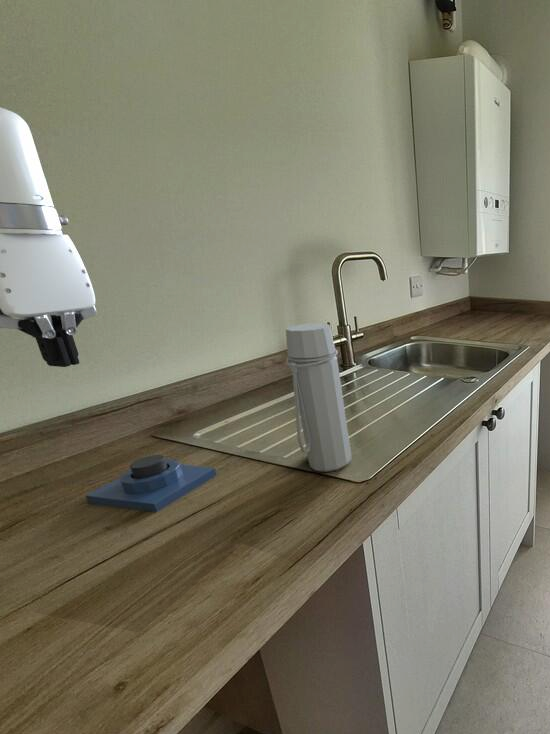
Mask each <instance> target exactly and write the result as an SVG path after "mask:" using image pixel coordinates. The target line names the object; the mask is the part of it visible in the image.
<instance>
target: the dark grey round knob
mask: <svg viewBox="0 0 550 734" xmlns="http://www.w3.org/2000/svg"><path fill="white" fill-rule="evenodd" d="M165 460H166V458H165V455H163V454H152V455H148V456H144V457H140V458H138V459H136V460H134V461H133V462H131V463H130V465H129V468H130V470H131V471H132V474H133V477H134V479H141V478H148V477H152V476H155V475H158V474H160V473H162V472H164V471H166V470H167V469H168V467H167V464H166V461H165Z"/></svg>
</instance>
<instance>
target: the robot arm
mask: <svg viewBox="0 0 550 734" xmlns="http://www.w3.org/2000/svg"><path fill="white" fill-rule="evenodd" d="M51 195H52V194H51V192H50V188H49V186H48V183H47V179H46V176H45V173H44V169H43V167H42V164H41V160H40V157H39V154H38V151H37V147H36V144H35V141H34V138H33V134H32V132H31V129H30V126H29V125H28V123H27V122H26V120H24V119H23V118H22V117H21V116H20V115H19V114H18V113H16V112H14V111H11V110H9V109H6V108H4V107H1V106H0V329H11V330H12V329H13V330H18V331H20V332H23V333H25V334H27V335H28V336H29V337H30V338H33V339H35V341H36V344H37V347H38V348H39V352H40V354H41V358H42V360H43V361H45V362H46V365H47V366H48V367H57V368H58V367H59V368H67V367H70V366H75V365H79V364H80V359H79V351H78V348H77V345H76V342H75V339H74V336H75V335H76V334H77V332H78V331H77V328H78V327H79V325H80V324H81V322H82V321H84V320H87V319H91V318H92V317H95V316H98V315H97V314H98V311H97V309H96V307H95V305H96V295H95V291H94V288H93V285H92V281H91V278H90V276H89V274H88V271H87V269H86V266H85V265H84V262H83V260H82V257H81V256H80V254H79V252H78V250H77V247H76V246H75V244H74V242H73V240H72V238H70V236H69V235H68V234H63V232H62V230H63V228H62V226H67V225H68V224H69V219H68V217H67V215H65V214H58V212H57V209H56V208H55V205H54V202H53V198H52V196H51Z"/></svg>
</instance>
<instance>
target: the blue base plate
mask: <svg viewBox="0 0 550 734" xmlns="http://www.w3.org/2000/svg"><path fill="white" fill-rule="evenodd" d="M165 461H166V464H167V467H168V469H167V470H166V471H164V472H162V473H160V474H158V475H155V476H152V477H148V478H141V479H134V477H133V474H132V471H131V469H129V470H126V471H125V472H123V474H122V475H121V476H119V478H118V479H116V480H114V481H112V482H110V483H108V484H105V485H103V486H102V487H100V488H98V489H96V490H93V491H92V492H90V493H88V494H85V498H86V501H87V503H88V504H89V505H96V506H103V507H104V506H106V507H114V508H120V509H130V510H137V511H145V512H153V513H158V512H159V511H161V510H162V509H165V508H166V507H168V506H169V505H171V504H172V503H174V502H176V501H177V500H179V499H181V498H182V497H184V496H185V495H187V494H188V493H190V492H192V491H194V490H195V489H197V488H199V487H200V486H202V485H204V484H205V483H207V482H208V481H210V480H212V479H213V478H215V477H216V476H217V475H218V474H217V470H216V468H215V467H209V466H199V465H189V464H181V463H180V462H179V461H178V460H177V459H169V458H167V459H166V458H165Z"/></svg>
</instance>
